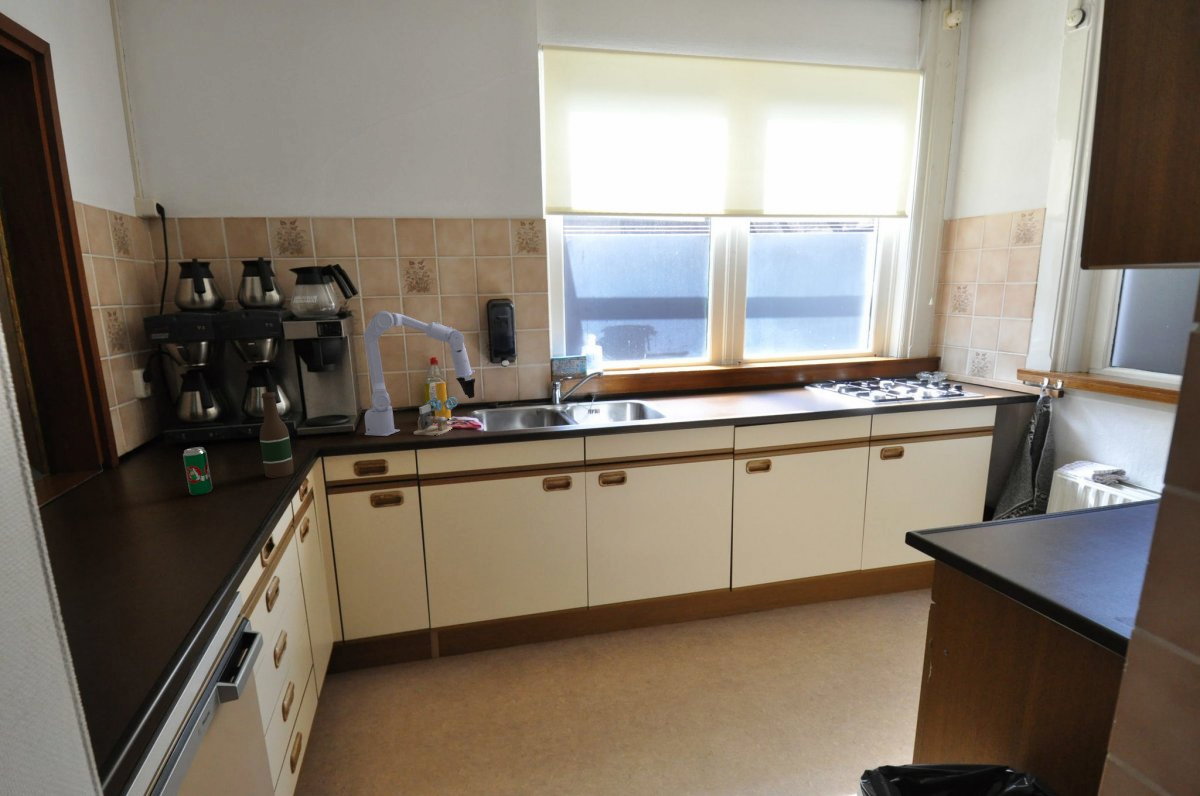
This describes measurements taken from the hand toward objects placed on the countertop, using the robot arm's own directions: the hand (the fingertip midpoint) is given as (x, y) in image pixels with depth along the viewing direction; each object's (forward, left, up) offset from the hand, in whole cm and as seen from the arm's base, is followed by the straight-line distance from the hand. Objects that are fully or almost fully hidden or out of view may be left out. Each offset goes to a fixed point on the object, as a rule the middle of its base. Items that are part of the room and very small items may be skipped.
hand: (469, 396), depth 222 cm
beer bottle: (-24, -67, -11) cm, 72 cm away
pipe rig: (-7, -15, -11) cm, 20 cm away
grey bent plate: (-10, -15, -9) cm, 20 cm away
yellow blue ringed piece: (-14, +3, -11) cm, 18 cm away
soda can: (-32, -84, -11) cm, 91 cm away
